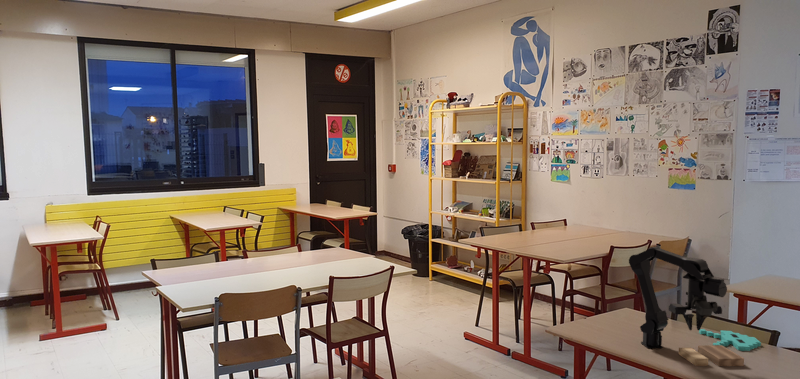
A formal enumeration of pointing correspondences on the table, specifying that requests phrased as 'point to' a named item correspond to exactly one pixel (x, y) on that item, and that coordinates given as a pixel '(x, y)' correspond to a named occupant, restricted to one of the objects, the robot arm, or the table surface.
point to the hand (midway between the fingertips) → (694, 330)
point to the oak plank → (693, 356)
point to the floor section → (721, 355)
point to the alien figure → (733, 339)
